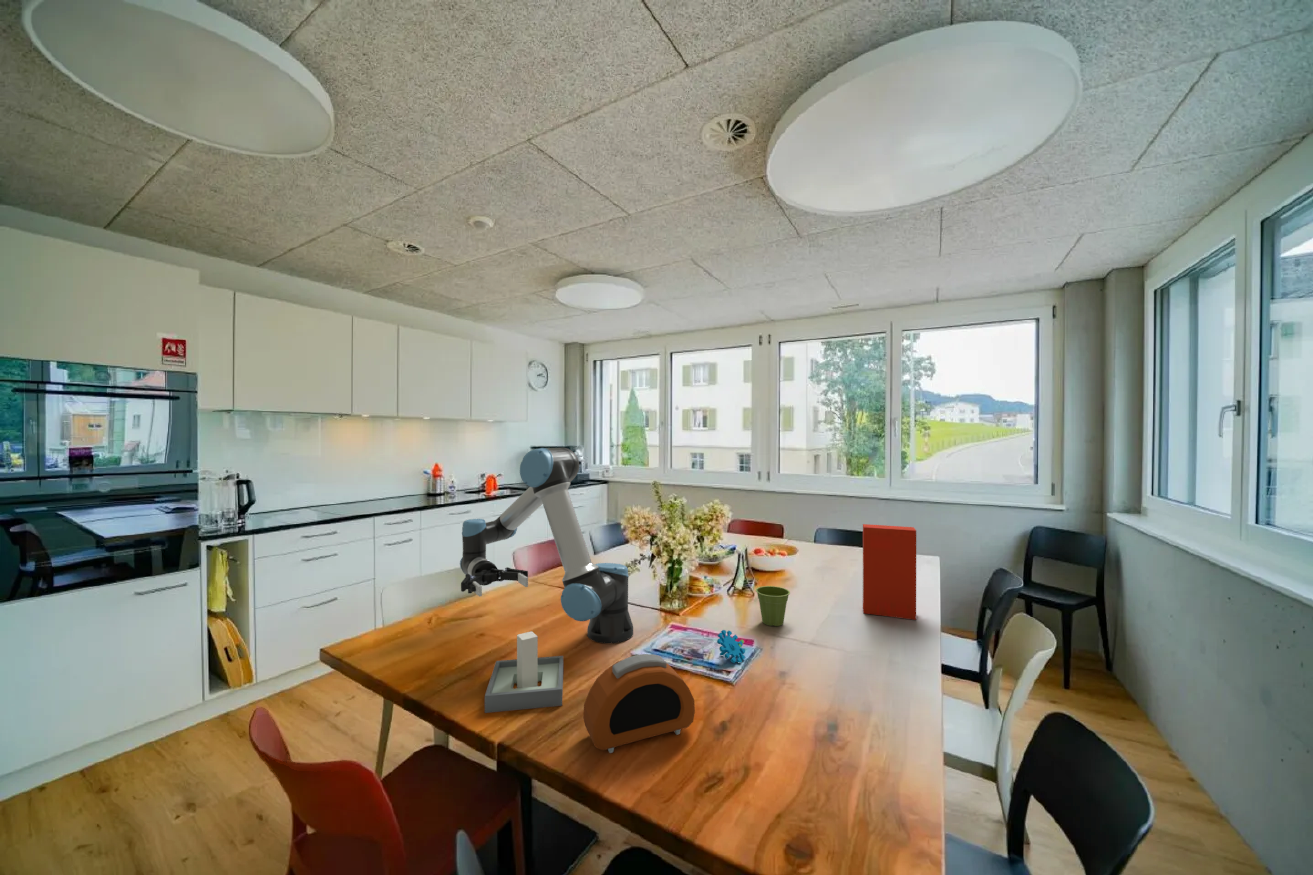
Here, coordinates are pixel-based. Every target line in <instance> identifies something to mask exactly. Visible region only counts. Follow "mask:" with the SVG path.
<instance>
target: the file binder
mask: <svg viewBox="0 0 1313 875" xmlns="http://www.w3.org/2000/svg"><path fill="white" fill-rule="evenodd" d="M862 611H863V612H862V613H863V614H867V615H872V616H873V615H874V616H883V617H890V618H898V619H905V620H906V619H907V620H915V621H916V620H917V529H916V528H915V527H914V526H899V525H881V524H865V523H863V524H862Z"/></svg>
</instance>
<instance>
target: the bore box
mask: <svg viewBox="0 0 1313 875" xmlns="http://www.w3.org/2000/svg"><path fill="white" fill-rule="evenodd" d="M538 682H541V685H540V686H539V685H538V686H537V687H526V688H517V687H516V688H514V685H515V684H517V658H516V659H504V660H496V661H495V663H494V666H493V670H492V673H491V676H490V679H489V682H488V685H487V688H486V691H485V694H484V714H487V713H498V712H509V711H510V712H511V711H519V710H529V709H540V708H549V707H550V708H551V707H561V706H562V707H563V692H564V691H563V690H564V689H563V688H564V655H555V656H544V657H542V656H540V657H538Z"/></svg>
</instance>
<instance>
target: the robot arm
mask: <svg viewBox="0 0 1313 875" xmlns="http://www.w3.org/2000/svg"><path fill="white" fill-rule="evenodd" d="M519 464H520V465H519V476H520V478H521V481H522V482H523V483H524V484H525V485H527V486H528V488H527V489H526V490H525V491H524V492H522V494H520V495H519V497H517V499H515V501H514V502H512V503H511V504H510V506H509V507H508V508H506V509H505V510H504V511H503V512H502V513H501V514H500V515H499V516H498V517H497V518H496V519H495V520H491V521H486V520H485V519H484V518H471V519H466V520H464V521H463V522H462V529H461V537H462V538H461V539H462V540H461V541H462V557H461V558H460V561H459V567H460V569H461V571H462V573H463V574H464V575H465V577H464V578H463V580H462V581H461V582H460V591H461V592H463V593H464V592H466V591H467V593H468V594H473V593H475V595H477V596H478V597H482V596H483V591H482V590H483V588H482V587H483V586H489V585H491V584H492V583H495V582H503V581H514V582H518V583H519V584H520V585H521V586H523V587H525V588H528V587H529V571H528V570H523V569H517V568H511V567H508V566H507V567H505V568H504V569H498V567H497V566H496V564H495V563H493V562H492V561H490V560H489V559H488V558H487V545H488V544H493V543H496V542H500V541H505V540H508V539H509V538H513V536H515V535H516V533H517V532H518V531H517V530H518V527H520V526H521V525H522V524H523V523H524V522H525V521H526V520H528V518H530V516H531V515H532V514H533V513H535V512H536V511H537V510H538V509H539V508H540V507H541V506H542V505H543V506H542V507H543V508H544V512H545V515H546V518H547V521H548V524H549V527H550V530H551V533H552V536H553V540H554V543H555V546H556V548H557V553H558V556H559V558H560V561H561V564H562V567H563V571H564V575H563V577H562V579H561V580H562V584H563V587H564V588H563V590H562V592H561V595H560V604H561V608H562V609H563V611H564V613H565V614H566V615H567V616H568V617H569V618H571V619H573V620H574V621H577V622H587V621H589V622H588V625H587V629H586V630H587V632H586V633H587V636H586V637H588V639H589V640H591V641H592V642H596V643H601V644H617V643H622V642H625V641H628V640H629V639H631V638H632V637H633V636H634V624H633V622H632V618H631V615H630V613H629V576H630V575H629V569H628V567H627V566H626V565H624V564H621V563H613V562H600V563H599V562H598V563H594V562H593V561H592V559H591V556H590V553H589V550H588V547H587V545H586V541H585V538H584V535H583V531H582V529H581V526H580V522H579V520H578V516H577V514H576V511H575V507H574V505H573V501H572V498H571V496H570V493H569V488H570V486H571V482H572V481H573V480H574V479H575V478H576V476H577V475H578V473H579V471H580V461H579V457H578V456H577V455H576V453H575V452H574V451H573V450H571V449H569V448H567V447H549V448H548V447H539V448H536V449H532V450H529V451H528V452H527V453H525V455H523V457H522V460H521V462H520V463H519Z"/></svg>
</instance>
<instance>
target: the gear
mask: <svg viewBox="0 0 1313 875" xmlns="http://www.w3.org/2000/svg"><path fill="white" fill-rule="evenodd" d="M731 635H732V636H731ZM717 637H718V639H717V640H716V643H717V644H718V645H720V646H719V651H720V653H719V656H720V655H723V656H724V658H725V659H726V660H727V659H729V658H730V656H731V657H732V658H731V659H730V662H731V663H732V664H735V663H737V662H741V663H742V662H743V660H745V658H746V656H745V655H744V654H746V649H745V648H742V646H743V645H744V644H745V641H744V639H740V640H739V641H738V638H739V637H738V635H737V634H734V635H733V632H732V631H731V630H725V629H722V630H721V631H720V633H718V634H717Z"/></svg>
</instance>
